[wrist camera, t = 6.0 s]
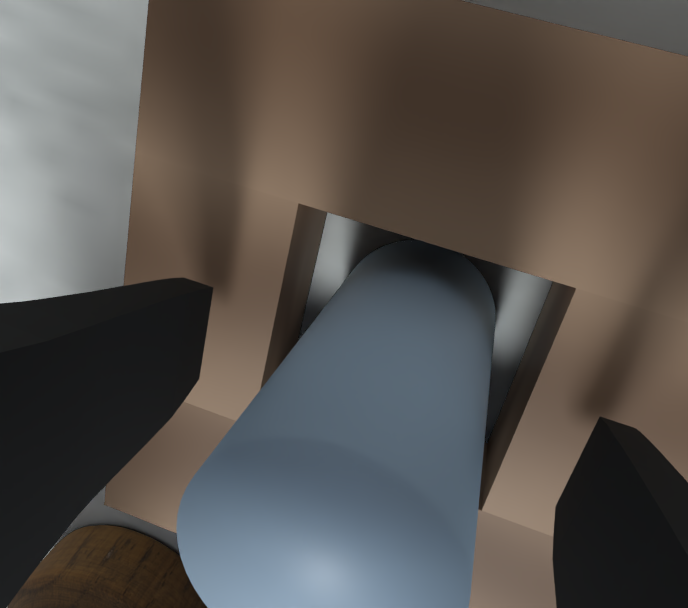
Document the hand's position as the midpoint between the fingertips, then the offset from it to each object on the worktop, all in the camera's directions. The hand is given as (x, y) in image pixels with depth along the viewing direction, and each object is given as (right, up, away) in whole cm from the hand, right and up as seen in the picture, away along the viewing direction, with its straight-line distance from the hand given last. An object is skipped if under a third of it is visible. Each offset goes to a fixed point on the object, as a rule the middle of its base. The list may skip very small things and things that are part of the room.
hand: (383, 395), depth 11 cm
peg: (+1, +1, +3) cm, 4 cm away
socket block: (+1, +1, +3) cm, 4 cm away
